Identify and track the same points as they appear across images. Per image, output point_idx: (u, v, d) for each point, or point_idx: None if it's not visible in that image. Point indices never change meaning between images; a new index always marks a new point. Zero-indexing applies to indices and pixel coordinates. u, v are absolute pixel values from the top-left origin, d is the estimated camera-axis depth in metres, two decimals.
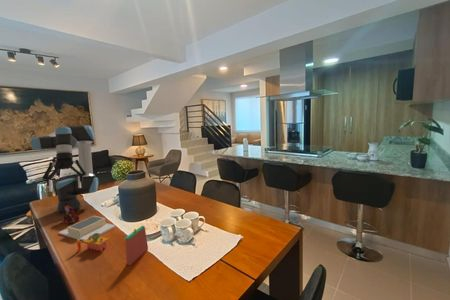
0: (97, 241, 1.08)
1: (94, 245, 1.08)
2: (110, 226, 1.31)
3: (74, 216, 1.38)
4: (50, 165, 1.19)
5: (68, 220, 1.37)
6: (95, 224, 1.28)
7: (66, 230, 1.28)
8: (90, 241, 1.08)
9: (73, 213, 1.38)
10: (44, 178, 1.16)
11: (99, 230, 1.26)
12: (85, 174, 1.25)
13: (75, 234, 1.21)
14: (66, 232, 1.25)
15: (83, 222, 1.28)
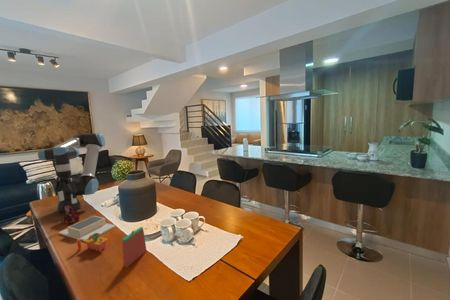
0: (96, 241, 1.07)
1: (94, 245, 1.08)
2: (110, 226, 1.31)
3: (74, 216, 1.38)
4: (57, 180, 1.39)
5: (68, 220, 1.37)
6: (95, 224, 1.28)
7: (66, 230, 1.28)
8: (89, 241, 1.08)
9: (73, 213, 1.38)
10: None
11: (99, 230, 1.26)
12: (76, 192, 1.35)
13: (75, 234, 1.21)
14: (66, 232, 1.25)
15: (83, 222, 1.28)
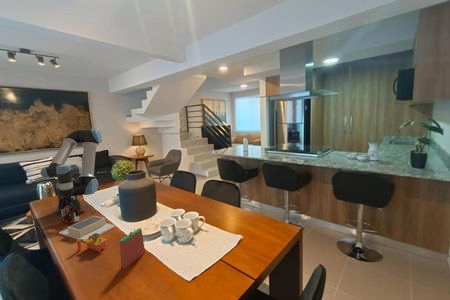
0: (96, 241, 1.07)
1: (93, 245, 1.07)
2: (110, 226, 1.31)
3: None
4: (60, 198, 1.41)
5: (68, 220, 1.37)
6: (95, 224, 1.28)
7: (66, 230, 1.28)
8: (89, 241, 1.08)
9: (73, 213, 1.38)
10: (59, 207, 1.43)
11: (99, 230, 1.26)
12: (78, 210, 1.37)
13: (75, 234, 1.21)
14: (66, 232, 1.25)
15: (83, 222, 1.28)
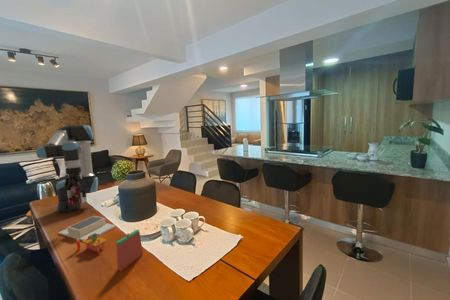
0: (95, 242, 1.07)
1: (92, 246, 1.07)
2: (110, 226, 1.31)
3: None
4: (66, 178, 1.30)
5: (74, 201, 1.26)
6: (95, 224, 1.28)
7: (66, 230, 1.28)
8: (88, 241, 1.07)
9: None
10: (65, 188, 1.32)
11: (99, 230, 1.26)
12: (85, 190, 1.26)
13: (75, 234, 1.21)
14: (66, 232, 1.25)
15: (83, 222, 1.28)
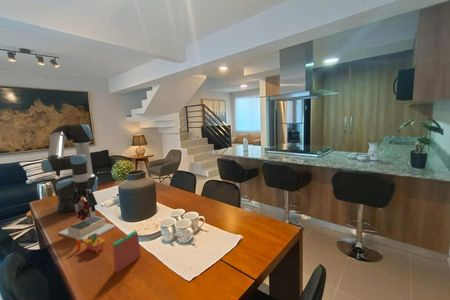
0: (94, 242, 1.07)
1: (92, 246, 1.07)
2: (110, 226, 1.31)
3: None
4: (73, 191, 1.27)
5: (83, 215, 1.23)
6: (95, 224, 1.28)
7: (66, 230, 1.28)
8: (88, 241, 1.08)
9: None
10: (72, 202, 1.29)
11: (99, 230, 1.26)
12: None
13: (75, 234, 1.21)
14: (66, 232, 1.25)
15: (83, 222, 1.28)
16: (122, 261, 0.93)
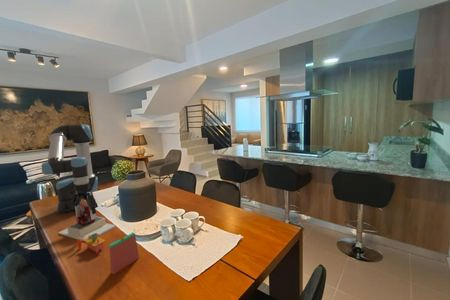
0: (94, 242, 1.07)
1: (92, 245, 1.07)
2: (110, 226, 1.31)
3: (90, 216, 1.25)
4: (74, 194, 1.27)
5: (84, 220, 1.24)
6: (95, 224, 1.28)
7: (66, 230, 1.28)
8: (88, 241, 1.08)
9: (89, 213, 1.25)
10: (72, 204, 1.29)
11: (99, 230, 1.26)
12: (95, 207, 1.23)
13: (75, 234, 1.21)
14: (66, 232, 1.25)
15: None
16: (119, 263, 0.92)
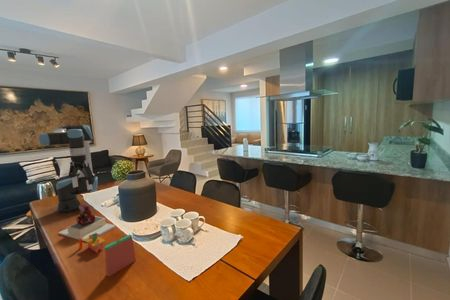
0: (94, 242, 1.07)
1: (92, 245, 1.07)
2: (110, 226, 1.31)
3: (90, 216, 1.25)
4: (70, 165, 1.31)
5: (84, 220, 1.24)
6: (95, 224, 1.28)
7: (66, 230, 1.28)
8: (89, 241, 1.08)
9: (89, 213, 1.25)
10: (69, 175, 1.33)
11: (99, 230, 1.26)
12: (91, 178, 1.27)
13: (75, 234, 1.21)
14: (66, 232, 1.25)
15: None
16: (114, 265, 0.91)
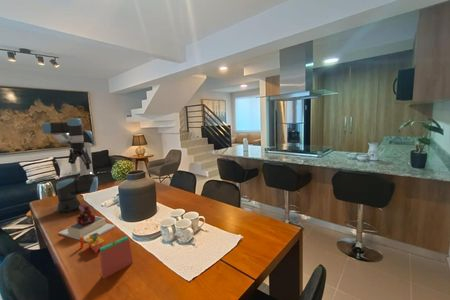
0: (94, 242, 1.07)
1: (92, 245, 1.08)
2: (110, 226, 1.31)
3: (90, 216, 1.25)
4: (70, 152, 1.41)
5: (84, 220, 1.24)
6: (95, 224, 1.28)
7: (66, 230, 1.28)
8: (89, 240, 1.09)
9: (89, 213, 1.25)
10: (69, 162, 1.43)
11: (99, 230, 1.26)
12: (89, 163, 1.37)
13: (75, 234, 1.21)
14: (66, 232, 1.25)
15: None
16: (110, 267, 0.90)
